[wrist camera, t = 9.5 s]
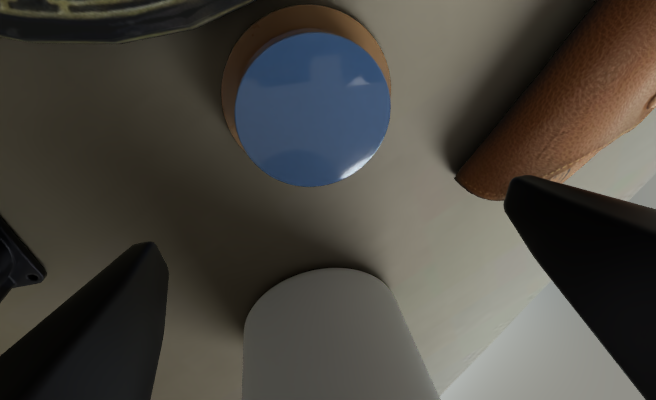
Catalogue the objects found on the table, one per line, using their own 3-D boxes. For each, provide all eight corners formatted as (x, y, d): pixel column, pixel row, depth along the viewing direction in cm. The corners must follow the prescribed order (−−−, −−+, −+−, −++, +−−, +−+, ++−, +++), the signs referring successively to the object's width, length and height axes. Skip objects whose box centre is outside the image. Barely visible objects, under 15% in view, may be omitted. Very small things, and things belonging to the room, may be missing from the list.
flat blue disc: (374, 154, 19) (388, 175, 17) (253, 174, 18) (253, 197, 16) (375, 17, 15) (394, 22, 13) (219, 34, 14) (213, 42, 12)
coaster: (386, 161, 19) (388, 164, 19) (244, 185, 18) (243, 188, 18) (391, -6, 15) (394, -5, 14) (198, 15, 14) (196, 15, 13)
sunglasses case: (528, 214, 24) (564, 257, 18) (446, 163, 24) (453, 188, 18) (788, -56, 16) (1005, -143, 10) (662, -122, 17) (796, -242, 11)
